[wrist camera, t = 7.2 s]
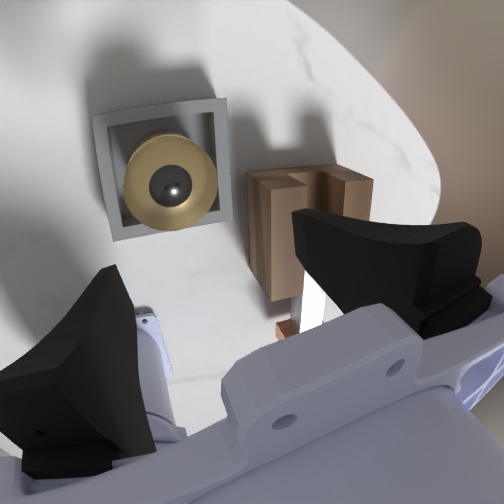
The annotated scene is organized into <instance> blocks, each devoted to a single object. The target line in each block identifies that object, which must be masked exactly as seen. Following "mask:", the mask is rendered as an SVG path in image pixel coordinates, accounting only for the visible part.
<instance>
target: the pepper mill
mask: <svg viewBox="0 0 504 504" xmlns="http://www.w3.org/2000/svg"><path fill="white" fill-rule="evenodd" d="M217 188H218V177H217V172H216V168H215V166H214V164H213V161H212V160H211V158H210V157H209V155H208V154H207V153H206V152H205V151H204V150H203V149H202V148H200V147H199V146H198V145H197V144H195V143H194V142H193V141H191V140H190V139H189V138H187V137H186V136H184V135H183V134H181V133H179V132H177V131H174V130H157V131H154V132H151V133H149V134H147V135H146V136H144V137H143V138H142V139H141V140H140V141H139V142H138V143H137V144H136V146H135V147H134V149H133V151H132V154H131V157H130V160H129V163H128V166H127V169H126V172H125V175H124V180H123V194H124V198H125V202H126V204H127V207H128V208H129V210H130V212H131V213H132V214H133V216H134V217H135V218H136V219H137V220H138V221H140V222H141V223H142V224H144V225H146V226H148V227H150V228H152V229H156V230H160V231H177V230H181V229H184V228H187V227H189V226H191V225H193V224H195V223H196V222H198V221H199V220H200V219H201V218H202V217H204V215H205V214H206V213H207V212H208V211H209V209H210V208H211V206H212V204H213V202H214V200H215V197H216V193H217Z"/></svg>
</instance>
